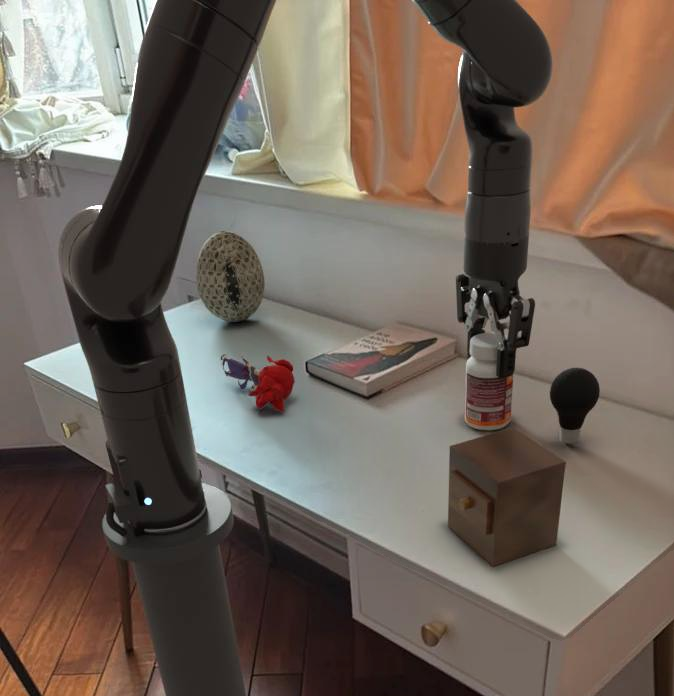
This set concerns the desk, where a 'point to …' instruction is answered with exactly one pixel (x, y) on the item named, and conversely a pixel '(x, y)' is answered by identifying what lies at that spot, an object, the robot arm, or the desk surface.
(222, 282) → the decorative egg
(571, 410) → the light bulb
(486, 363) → the pill bottle
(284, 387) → the figurine
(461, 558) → the desk surface
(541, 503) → the box
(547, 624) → the desk surface
